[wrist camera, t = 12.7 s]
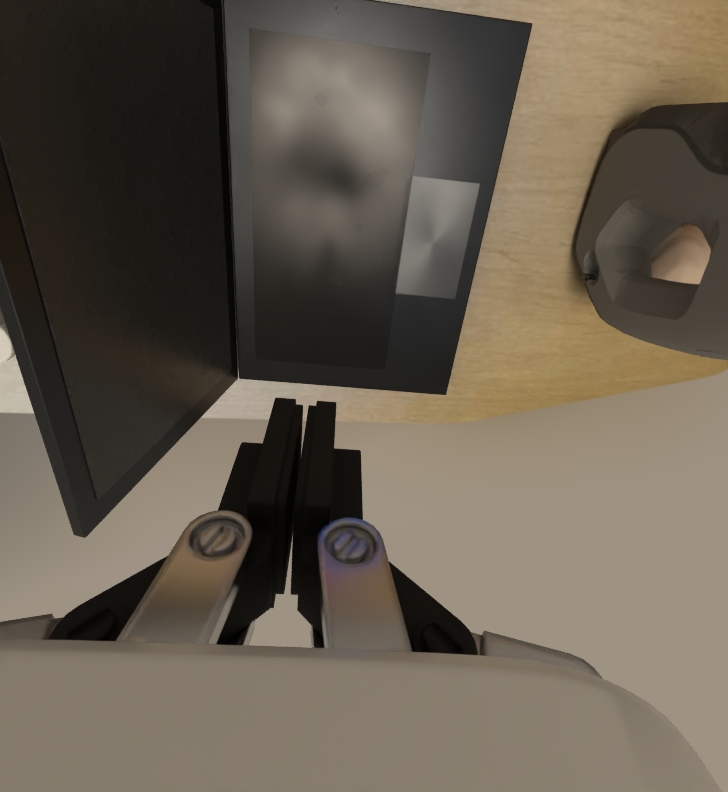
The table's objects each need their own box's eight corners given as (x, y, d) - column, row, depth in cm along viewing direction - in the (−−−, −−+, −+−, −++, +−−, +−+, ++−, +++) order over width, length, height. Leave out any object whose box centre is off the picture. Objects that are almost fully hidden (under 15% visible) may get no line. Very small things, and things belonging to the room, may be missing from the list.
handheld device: (689, 119, 35) (1201, 112, 14) (605, 302, 43) (855, 477, 22) (617, 104, 35) (1040, 73, 13) (546, 292, 43) (742, 463, 21)
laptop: (524, 28, 32) (533, 23, 31) (442, 386, 48) (446, 395, 46) (228, -15, 31) (221, -23, 29) (242, 370, 46) (238, 379, 45)
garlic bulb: (627, 223, 40) (614, 305, 44) (658, 248, 35) (640, 338, 39) (710, 210, 38) (688, 296, 43) (756, 235, 33) (724, 328, 38)
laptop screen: (-161, -272, 11) (-190, -272, 12) (86, 538, 27) (73, 535, 27) (222, -22, 29) (209, -23, 29) (239, 378, 45) (230, 377, 45)
